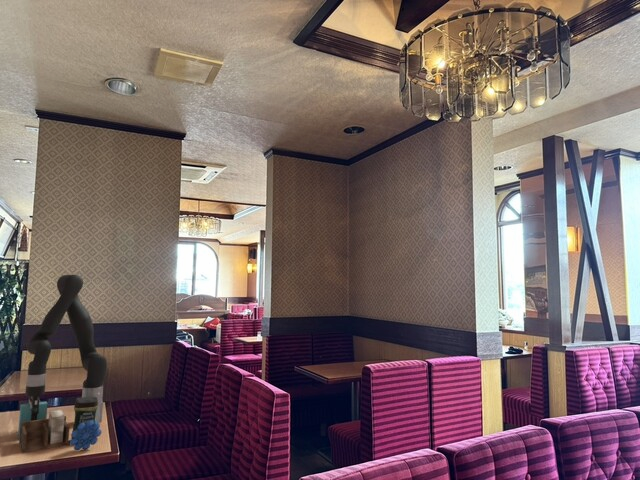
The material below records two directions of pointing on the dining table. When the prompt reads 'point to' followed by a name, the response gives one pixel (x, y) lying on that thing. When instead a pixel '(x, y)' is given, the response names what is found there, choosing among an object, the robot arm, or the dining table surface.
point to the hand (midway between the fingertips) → (32, 420)
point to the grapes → (85, 435)
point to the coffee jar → (85, 410)
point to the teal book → (26, 413)
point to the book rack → (44, 433)
